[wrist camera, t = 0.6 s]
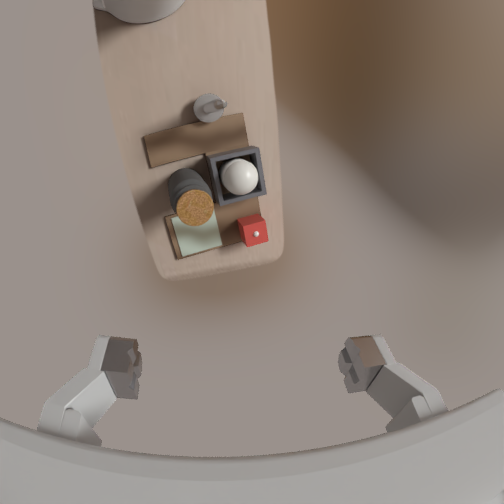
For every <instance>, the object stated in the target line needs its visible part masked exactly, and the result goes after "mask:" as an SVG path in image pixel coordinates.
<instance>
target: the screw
mask: <svg viewBox="0 0 504 504" xmlns="http://www.w3.org/2000/svg"><path fill="white" fill-rule="evenodd" d="M226 106H227V102H224V100H222V99H220V98H219V97H218V96H217V95H214V94H204V95H202V96H200V97H199V98H198V99H197V100H196V102H195V104H194V113H195V115H196V117H197V118H198V119H199V120H201V121H203V122H214V121H216V120H218V119H219V118H220V117H221V115H222V114H223V111H224V108H225V107H226Z"/></svg>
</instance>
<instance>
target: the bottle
mask: <svg viewBox="0 0 504 504" xmlns="http://www.w3.org/2000/svg"><path fill="white" fill-rule="evenodd" d="M168 188H169V196H170V202H171V206H172V208H173V210H174V212H175V213H176V214H177V216H178V217H179V219H180V220H181V221H182V222H183V223H184V224H186V225H189V226H200V225H202V224H204V223H206V222H207V221H208V220H209V219H210V218H211V216H212V214H213V211H214V204H213V199H212V193H211V191H210V188H209V187H208V185H207V184H206V183H205V181H204V180H203V179H202V177H201V176H200V175H199V174H198V173H197V172H196V171H195V170H192V169H190V168H183V169H179V170H177V171H176V172H174V173H173V174H172V176H171V177H170V180H169V184H168Z"/></svg>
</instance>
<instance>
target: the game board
mask: <svg viewBox="0 0 504 504" xmlns="http://www.w3.org/2000/svg"><path fill="white" fill-rule="evenodd" d="M144 140H145V144H146V148H147V152H148V156H149V160H150V164H151V168H152V167H155V166H159V165H162V164H166V163H169V162H173V161H177V160H180V159H184V158H188V157H192V156H196V155H200V154H204V153H205V154H206V156H208V155H212V154H216V153H220V152H225V151H229V150H234V149H238V148H243V147H248V146H249V144H248V139H247V133H246V127H245V122H244V116H243V113H239V114H234V115H228V116H223V117H220V118H219V119H218V120H216V121H214V122H203V121H200V122H195V123H191V124H187V125H183V126H179V127H175V128H171V129H167V130H163V131H160V132H156V133H153V134H149V135H146V136H144ZM233 158H235V157H233ZM237 158H241V159H243V160H246V161H248V162H250V156H249V154H247V155H242V156H238V157H237ZM206 159H207V157H206ZM229 159H230V158H229ZM226 160H228V159H225V160H221V161H216V167H217V172H218V177H219V169H220V167H221V165H222V164H223V163H224V162H225V161H226ZM250 163H251V162H250ZM207 164H208V162H207ZM208 168H209V166H208ZM209 173H210V171H209ZM210 177H211V176H210ZM211 182H212V180H211ZM219 182H220V179H219ZM220 186H221V191H222V194H226V193H230V191H229V190H227V189H226V188H225V187H224V186H223V185H222V183H221V182H220ZM212 187H213V185H212ZM213 191H214V189H213ZM214 196H215V194H214ZM215 200H216V198H215ZM213 204H214V211H213V214H212V216H211V218H210V219H209V220H208V221H207V222H206V223H204V224H202V225H200V226H189V225H186V224H184V223H183V222H182V221H181V220H180V219H179V217H178V216H177V214H176V213H175V214H172V215H168V216H165V219H166V222H167V226H168V229H169V232H170V236H171V239H172V242H173V245H174V249H175V252H176V255H177V258H178V260H179V259H183V258H186V257H189V256H193V255H196V254H199V253H203V252H206V251H210V250H213V249H217V248H220V247H223V246H227V245H230V244H234V243H237V242H241V241H242V239H241V236H240V231H239V226H238V221H237V219H239V218H243V217H247V216H250V215H254V214H259V215H260V216H261V213H260V207H259V201H258V197H254V198H250V199H246V200H242V201H238V202H234V203H231V204H227V205H223V206H220V205H219V204H218V202H217V201H216V202H214V203H213Z"/></svg>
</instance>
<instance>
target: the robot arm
mask: <svg viewBox="0 0 504 504" xmlns="http://www.w3.org/2000/svg"><path fill="white" fill-rule="evenodd" d="M184 1H185V0H93V7H94V8H95V9H98V10H103V11H108V12H109V13H111V14H112V15H113V16H115V17H116V18H118V19H120V20H122V21H125V22H129V23H148V22H153V21H156V20H159V19H162V18H164V17H166V16H168V15H170V14H172V13H173V12H174V11H176V10H177V9H178V8H179V7H180V6H181V5H182V4H183V3H184ZM338 363H339V369H340V371H341V373H343V374H344V375H345V379H344V383H345V385H346V388H347V391H348V393H353V392H360V391H366V392H367V393H368V394H369V395H370V396H371V397H372V398H373V399H374V400H375V401H376V402H377V403H378V404H379V405H380V406H381V407H382V408H383V409H384V410H386V411H387V412H388V413H389V414H390V415H391V416H392V417H393V419H392V420H391V421H390V422H389V423H388V424H387V426H386V430H387V433H384V434H381V435H377V436H374V437H370V438H366V439H361V440H357V441H353V442H348V443H344V444H339V445H334V446H328V447H323V448H317V449H311V450H304V451H297V452H289V453H281V454H271V455H257V456H241V457H187V456H169V455H157V454H146V453H137V452H130V451H123V450H116V449H111V448H105V447H101V443H102V440H101V439H100V438H99V436H98V435H97V434H96V433H95V432H94V430H93V429H92V428H93V427H94V425H95V424H96V423H97V422H98V421H99V419H100V418H101V417H102V416H103V415H104V413H105V412H106V411H107V410H108V409H109V407H110V406H111V405H112V404H113V403H114V402H115V400H116V399H117V398H126V399H138V392H139V382H138V378H139V377H140V376H141V371H142V358H141V353H140V352H139V351H138V342H137V339H130V338H121V337H112V336H103V335H99V336H98V337H97V338H96V342H95V344H94V347H93V351H92V354H91V357H90V360H89V364H88V367H87V369H86V368H83V369H82V370H81V371H80V372H79V373H78V374H76V375H75V376H74V377H73V378H72V379H71V380H69V381H68V382H67V383H66V384H65V385H64V386H63V387H61V388H60V389H59V390H58V391H57V392H56V393H55V394H53V395H52V396H51V397H50V398H49V399H48V400H47V401H45V403H44V406H43V410H42V413H41V417H40V420H39V424H38V427H37V431H36V430H33V429H30V428H27V427H24V426H21V425H18V424H16V423H13V422H10V421H8V420H5V419H3V418H0V504H504V391H503V390H501V389H496V390H493V391H491V392H489V393H487V394H485V395H483V396H481V397H479V398H477V399H475V400H473V401H471V402H469V403H466V404H464V405H462V406H460V407H458V408H455V409H453V410H450V411H448V410H447V407H446V405H445V403H444V401H443V399H442V397H441V395H440V393H439V391H438V390H437V389H436V388H435V387H434V386H432V385H431V384H429V383H428V382H426V381H425V380H424V379H422V378H421V377H419V376H418V375H417V374H415V373H414V372H412V371H411V370H409V369H408V368H407V367H405V366H404V365H402V364H401V363H397V362H396V361H395V359H394V357H393V355H392V353H391V351H390V349H389V347H388V345H387V343H386V342H385V340H384V338H383V336H382V335H370V336H359V337H350V338H348V339H347V340H346V342H345V348H344V349H343V350H341V352H340V354H339V360H338Z"/></svg>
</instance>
